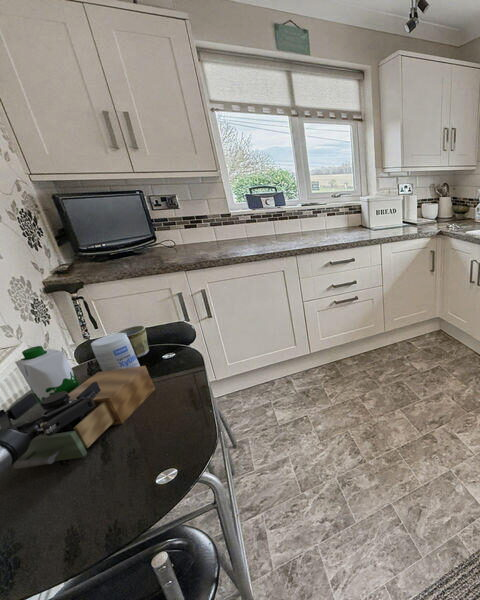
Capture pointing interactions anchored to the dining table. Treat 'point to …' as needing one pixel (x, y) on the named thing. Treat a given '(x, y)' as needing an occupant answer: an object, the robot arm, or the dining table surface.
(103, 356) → the supplement tub
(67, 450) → the drawer
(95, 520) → the dining table surface
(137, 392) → the cabinet
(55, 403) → the supplement bottle
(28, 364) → the milk carton
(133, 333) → the ceramic cup
